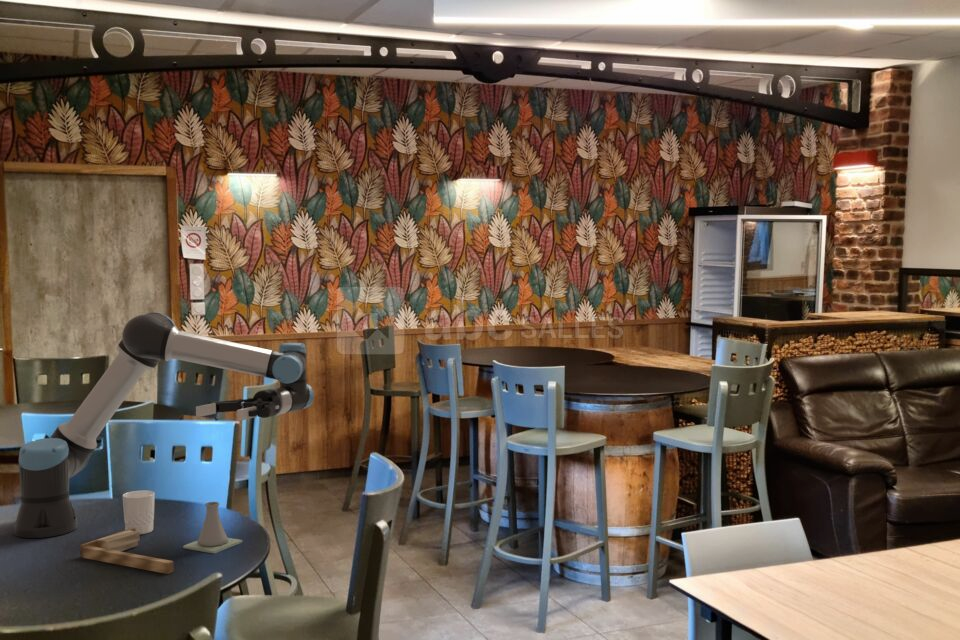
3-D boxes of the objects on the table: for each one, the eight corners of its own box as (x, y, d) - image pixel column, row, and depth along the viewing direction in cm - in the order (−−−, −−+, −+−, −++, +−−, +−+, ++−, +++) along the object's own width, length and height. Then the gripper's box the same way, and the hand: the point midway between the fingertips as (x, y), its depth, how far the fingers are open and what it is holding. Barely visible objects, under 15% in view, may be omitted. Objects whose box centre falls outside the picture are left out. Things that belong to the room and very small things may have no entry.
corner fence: (80, 557, 218) (80, 544, 218) (132, 539, 233) (132, 527, 233) (168, 574, 206) (167, 560, 206) (217, 554, 220) (217, 541, 220)
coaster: (183, 548, 225) (183, 545, 225) (211, 537, 234) (211, 535, 234) (214, 553, 221) (214, 551, 221) (242, 542, 230) (242, 540, 230)
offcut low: (96, 556, 221) (96, 547, 221) (126, 545, 229) (125, 537, 229) (108, 558, 220) (108, 550, 220) (137, 547, 228) (137, 540, 228)
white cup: (160, 527, 243) (159, 490, 243) (147, 536, 236) (146, 497, 235) (132, 526, 244) (131, 489, 244) (117, 535, 236) (116, 497, 236)
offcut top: (97, 547, 222) (97, 539, 221) (129, 538, 229) (129, 530, 229) (107, 549, 219) (107, 541, 219) (139, 540, 227) (139, 532, 227)
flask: (209, 549, 222) (208, 508, 222) (191, 543, 227) (190, 503, 226) (234, 542, 228) (233, 502, 228) (216, 536, 233) (215, 498, 232)
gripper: (308, 419, 246) (256, 431, 227) (236, 413, 257) (180, 424, 238) (308, 391, 246) (255, 401, 227) (235, 386, 257) (180, 396, 238)
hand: (217, 413), depth 232 cm, fingers open, 13 cm apart
